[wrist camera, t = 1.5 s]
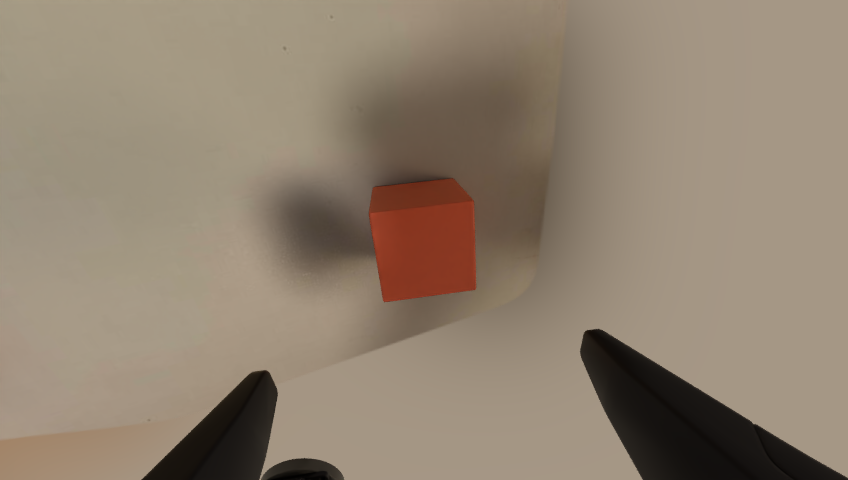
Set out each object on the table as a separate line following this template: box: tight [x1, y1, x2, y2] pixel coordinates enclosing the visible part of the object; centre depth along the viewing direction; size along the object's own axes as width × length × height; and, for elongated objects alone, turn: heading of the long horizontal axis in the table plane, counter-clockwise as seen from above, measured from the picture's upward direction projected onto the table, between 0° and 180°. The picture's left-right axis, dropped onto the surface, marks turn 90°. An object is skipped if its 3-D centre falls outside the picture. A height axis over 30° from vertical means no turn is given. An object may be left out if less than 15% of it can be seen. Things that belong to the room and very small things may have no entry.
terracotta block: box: [369, 178, 476, 302], centre depth 18 cm, size 5×5×5 cm
